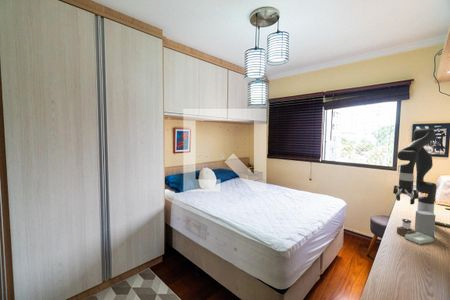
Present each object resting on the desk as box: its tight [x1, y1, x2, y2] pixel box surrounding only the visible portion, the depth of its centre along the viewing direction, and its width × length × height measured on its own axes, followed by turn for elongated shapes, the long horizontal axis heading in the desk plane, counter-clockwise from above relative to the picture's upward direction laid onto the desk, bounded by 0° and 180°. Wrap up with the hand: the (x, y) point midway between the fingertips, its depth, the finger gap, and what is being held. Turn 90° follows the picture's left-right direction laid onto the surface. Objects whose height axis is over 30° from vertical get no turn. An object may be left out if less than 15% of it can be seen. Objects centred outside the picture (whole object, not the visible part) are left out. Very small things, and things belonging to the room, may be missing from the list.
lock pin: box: [401, 218, 412, 231], centre depth 142 cm, size 5×5×10 cm
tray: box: [404, 232, 434, 245], centre depth 134 cm, size 13×8×2 cm, turn 105°
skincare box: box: [414, 210, 437, 238], centre depth 141 cm, size 8×7×16 cm
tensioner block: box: [396, 225, 416, 237], centre depth 142 cm, size 7×7×4 cm
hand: (404, 202), depth 142 cm, fingers open, 8 cm apart
